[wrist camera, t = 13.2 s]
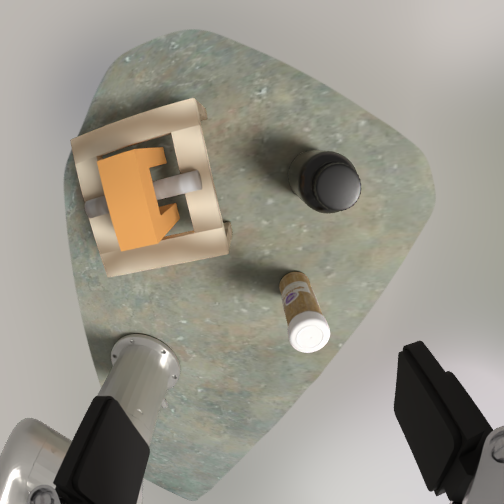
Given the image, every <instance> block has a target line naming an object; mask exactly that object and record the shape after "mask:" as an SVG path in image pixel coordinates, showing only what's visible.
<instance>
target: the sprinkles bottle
mask: <svg viewBox="0 0 504 504" xmlns="http://www.w3.org/2000/svg"><path fill="white" fill-rule="evenodd" d="M279 289H280V292H281V295H282V302H283V307H284V312H285V315H286V319H287V323H288V336H289V341H290V343H291V345H292V346H293V348H295V349H296V350H298V351H300V352H305V353H310V352H314V351H317V350H319V349H321V348H322V347H323V346H324V345H325V344H326V343H327V342H328V340H329V337H330V329H329V326H328V323H327V321H326V319H325V317H324V316H323V315H322V312H321V308H320V306H319V303H318V301H317V298H316V296H315V293H314V291H313V289H312V287H311V286H310V282H309V279H308V277H307V276H306V275H305V274H303V273H301V272H291V273H289V274H287V275H285V276H284V277H283V278H282V279H281V281H280V285H279Z"/></svg>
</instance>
